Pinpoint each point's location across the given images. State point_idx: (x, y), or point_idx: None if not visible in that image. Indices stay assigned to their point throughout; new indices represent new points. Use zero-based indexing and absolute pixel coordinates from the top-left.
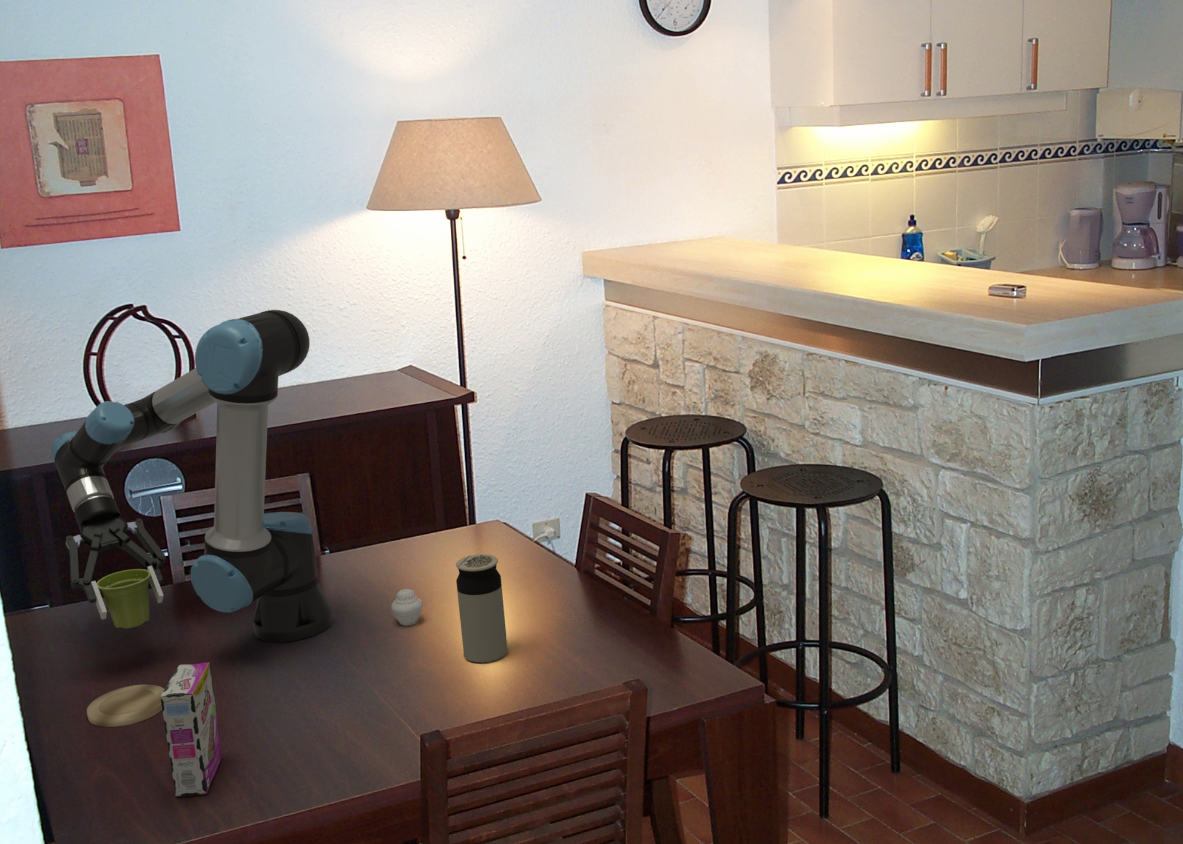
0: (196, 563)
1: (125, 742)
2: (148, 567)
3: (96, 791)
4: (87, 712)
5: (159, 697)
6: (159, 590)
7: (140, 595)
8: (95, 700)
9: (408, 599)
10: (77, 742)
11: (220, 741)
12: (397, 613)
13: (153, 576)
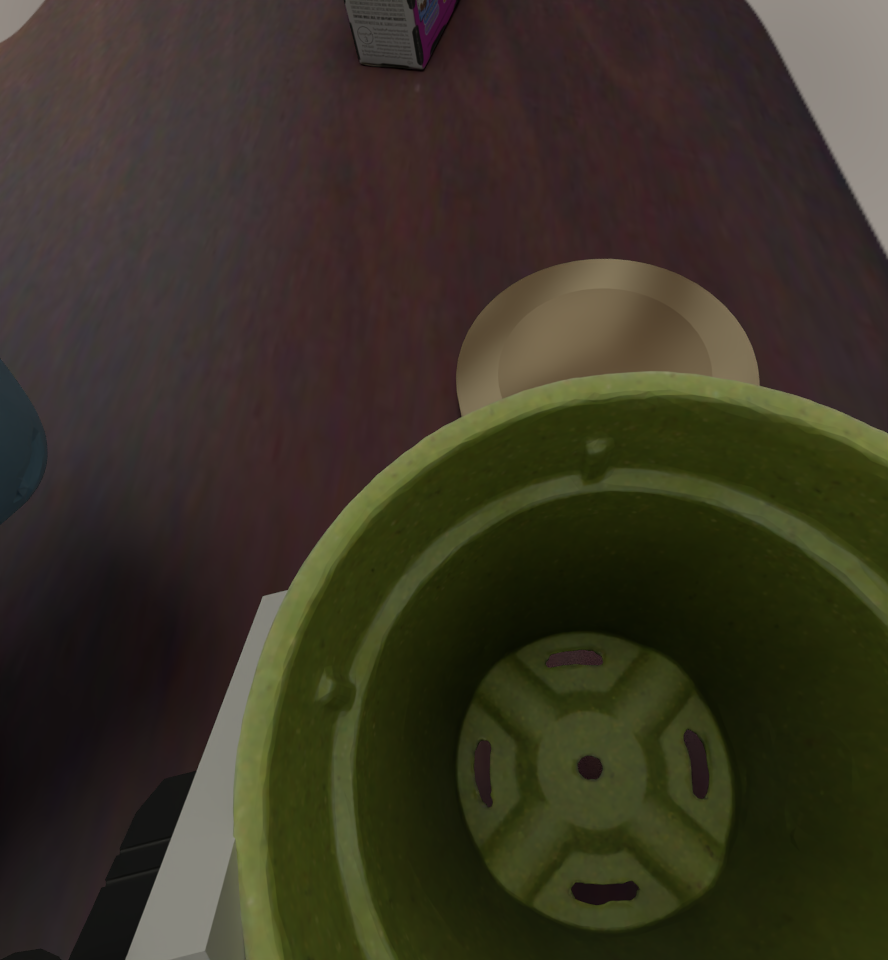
0: None
1: (593, 188)
2: (203, 927)
3: (647, 24)
4: (751, 350)
5: (484, 355)
6: (270, 622)
7: (468, 564)
8: None
9: None
10: (748, 233)
11: (348, 18)
12: None
13: (231, 761)
